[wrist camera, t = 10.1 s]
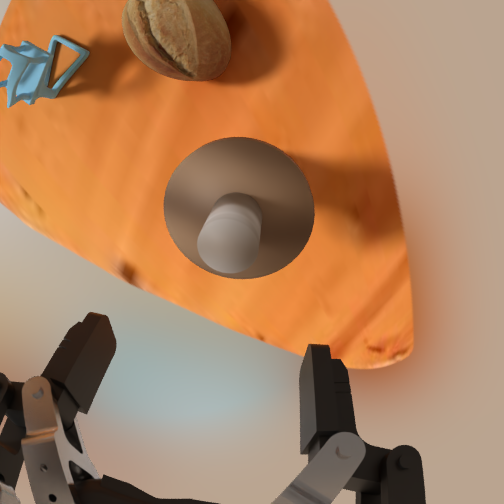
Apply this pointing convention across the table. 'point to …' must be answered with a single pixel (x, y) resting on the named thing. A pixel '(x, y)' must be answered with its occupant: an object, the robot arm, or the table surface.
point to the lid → (239, 208)
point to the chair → (35, 70)
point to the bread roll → (178, 37)
